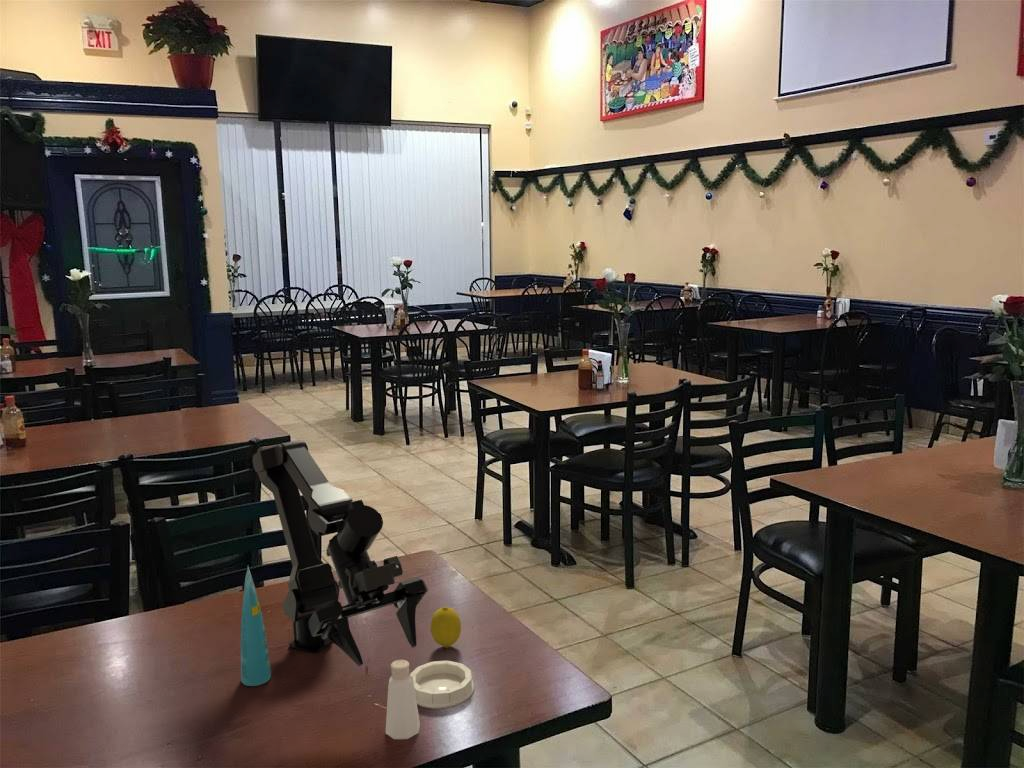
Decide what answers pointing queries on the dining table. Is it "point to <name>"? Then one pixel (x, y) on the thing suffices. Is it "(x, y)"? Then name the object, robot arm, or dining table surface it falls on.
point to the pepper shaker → (401, 703)
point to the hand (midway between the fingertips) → (388, 655)
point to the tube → (253, 639)
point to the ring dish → (442, 684)
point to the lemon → (445, 626)
